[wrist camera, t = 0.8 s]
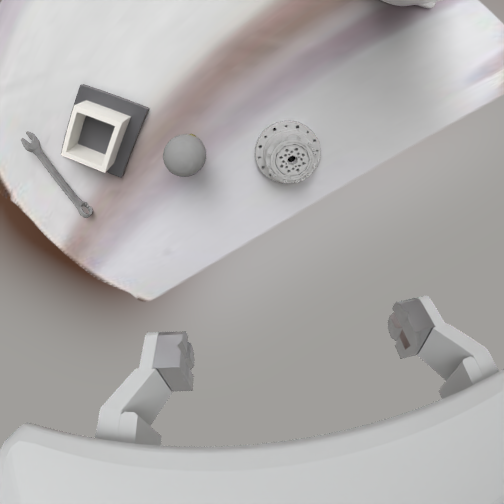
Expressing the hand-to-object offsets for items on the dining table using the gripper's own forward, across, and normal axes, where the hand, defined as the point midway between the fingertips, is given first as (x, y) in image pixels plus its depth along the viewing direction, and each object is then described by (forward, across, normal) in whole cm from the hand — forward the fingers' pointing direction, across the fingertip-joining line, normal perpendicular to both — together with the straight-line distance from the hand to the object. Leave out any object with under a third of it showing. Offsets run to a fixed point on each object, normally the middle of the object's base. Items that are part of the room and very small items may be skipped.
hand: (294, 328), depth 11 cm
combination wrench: (+37, +32, +2) cm, 49 cm away
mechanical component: (+37, -6, +5) cm, 38 cm away
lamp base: (+36, +22, -3) cm, 43 cm away
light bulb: (+37, +8, +2) cm, 38 cm away
